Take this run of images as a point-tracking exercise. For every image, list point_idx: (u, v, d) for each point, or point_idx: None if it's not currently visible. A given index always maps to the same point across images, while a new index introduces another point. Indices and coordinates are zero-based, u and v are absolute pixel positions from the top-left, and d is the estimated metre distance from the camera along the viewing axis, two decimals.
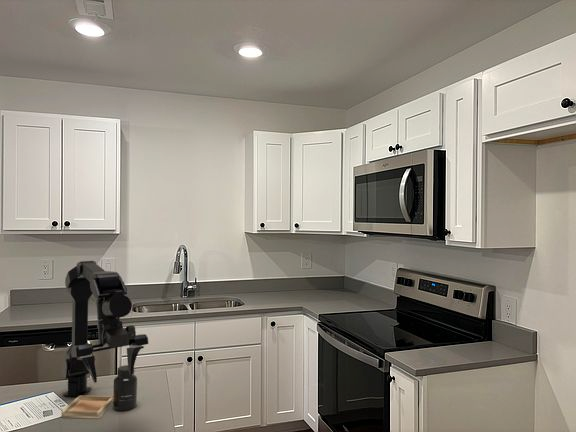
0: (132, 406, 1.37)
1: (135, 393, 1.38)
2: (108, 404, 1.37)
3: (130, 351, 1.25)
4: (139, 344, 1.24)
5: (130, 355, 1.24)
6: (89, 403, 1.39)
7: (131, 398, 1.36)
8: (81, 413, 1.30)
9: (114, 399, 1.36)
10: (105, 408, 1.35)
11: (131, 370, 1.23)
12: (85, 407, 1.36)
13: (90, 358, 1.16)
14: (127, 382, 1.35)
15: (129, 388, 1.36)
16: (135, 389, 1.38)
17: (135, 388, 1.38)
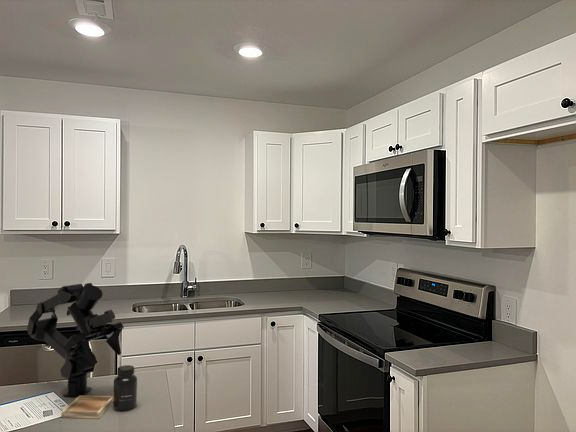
0: (132, 406, 1.37)
1: (135, 393, 1.38)
2: (108, 404, 1.37)
3: (111, 338, 1.47)
4: (118, 327, 1.48)
5: (113, 340, 1.47)
6: (89, 403, 1.39)
7: (131, 398, 1.36)
8: (81, 413, 1.30)
9: (114, 399, 1.36)
10: (105, 408, 1.35)
11: (119, 350, 1.45)
12: (85, 407, 1.36)
13: (86, 342, 1.36)
14: (127, 382, 1.35)
15: (129, 388, 1.36)
16: (135, 389, 1.38)
17: (135, 388, 1.38)
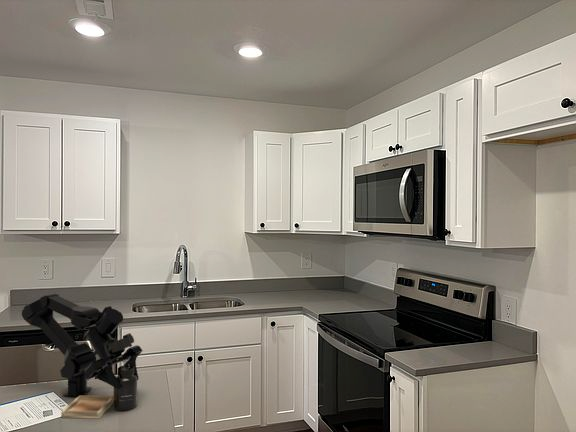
0: (132, 406, 1.37)
1: (135, 393, 1.38)
2: (108, 404, 1.37)
3: (128, 363, 1.43)
4: (136, 351, 1.45)
5: None
6: (89, 403, 1.39)
7: (131, 398, 1.36)
8: (81, 413, 1.30)
9: (114, 399, 1.36)
10: (105, 408, 1.35)
11: (137, 375, 1.41)
12: (85, 407, 1.36)
13: (109, 367, 1.34)
14: (127, 382, 1.35)
15: (129, 388, 1.36)
16: (135, 389, 1.38)
17: (135, 388, 1.38)
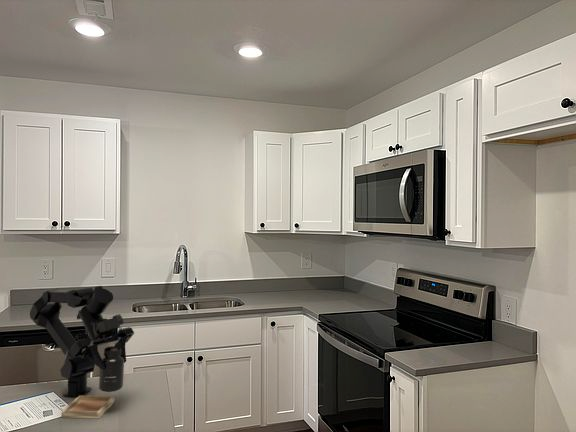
0: (117, 388, 1.35)
1: (121, 375, 1.36)
2: (108, 404, 1.37)
3: (117, 344, 1.41)
4: (127, 333, 1.43)
5: None
6: (89, 403, 1.39)
7: (116, 379, 1.34)
8: (81, 413, 1.30)
9: (99, 379, 1.35)
10: (105, 408, 1.35)
11: (124, 357, 1.39)
12: (85, 407, 1.36)
13: (94, 346, 1.33)
14: (111, 363, 1.34)
15: (114, 370, 1.34)
16: (121, 371, 1.36)
17: (121, 370, 1.36)
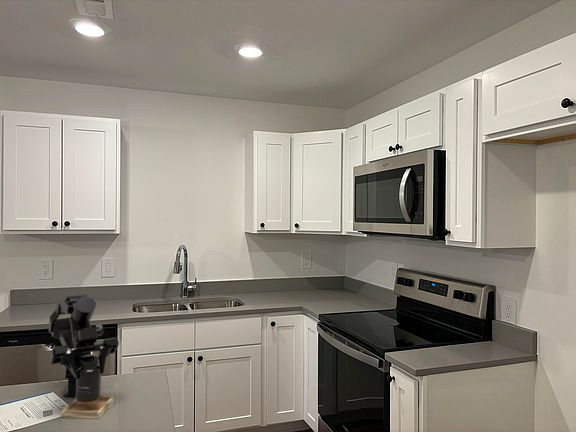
0: (90, 399, 1.33)
1: (94, 386, 1.34)
2: (108, 404, 1.37)
3: (100, 354, 1.40)
4: (110, 343, 1.41)
5: (100, 357, 1.40)
6: (89, 403, 1.39)
7: (88, 390, 1.33)
8: (81, 413, 1.30)
9: None
10: (105, 408, 1.35)
11: (102, 368, 1.37)
12: (85, 407, 1.36)
13: (69, 355, 1.34)
14: (84, 373, 1.33)
15: (86, 380, 1.33)
16: (95, 382, 1.34)
17: (94, 381, 1.34)
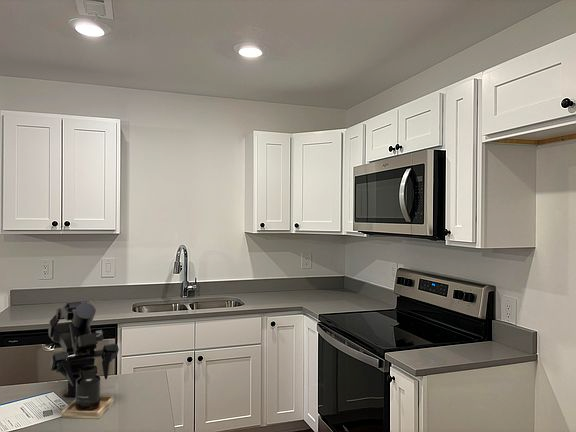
0: (89, 408, 1.33)
1: (94, 395, 1.34)
2: (108, 404, 1.37)
3: (103, 360, 1.41)
4: (110, 349, 1.41)
5: (104, 363, 1.40)
6: None
7: (88, 400, 1.33)
8: (81, 413, 1.30)
9: None
10: (105, 408, 1.35)
11: (106, 374, 1.38)
12: None
13: (65, 362, 1.33)
14: (83, 382, 1.33)
15: (85, 390, 1.33)
16: (94, 391, 1.34)
17: (94, 390, 1.34)
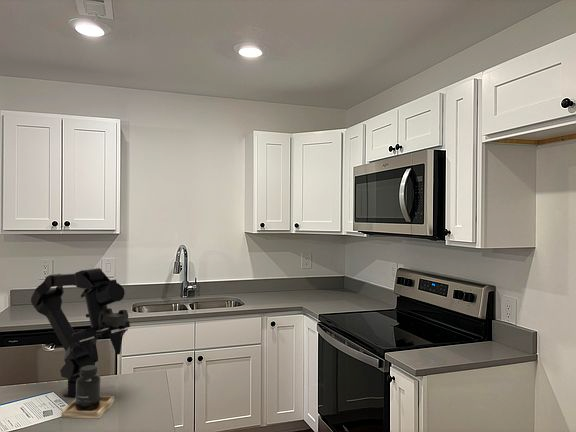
0: (89, 408, 1.33)
1: (94, 395, 1.34)
2: (108, 404, 1.37)
3: (115, 334, 1.45)
4: (125, 327, 1.46)
5: (116, 338, 1.45)
6: None
7: (88, 400, 1.33)
8: (81, 413, 1.30)
9: None
10: (105, 408, 1.35)
11: (119, 350, 1.44)
12: None
13: (94, 339, 1.34)
14: (83, 382, 1.33)
15: (85, 390, 1.33)
16: (94, 391, 1.34)
17: (94, 390, 1.34)
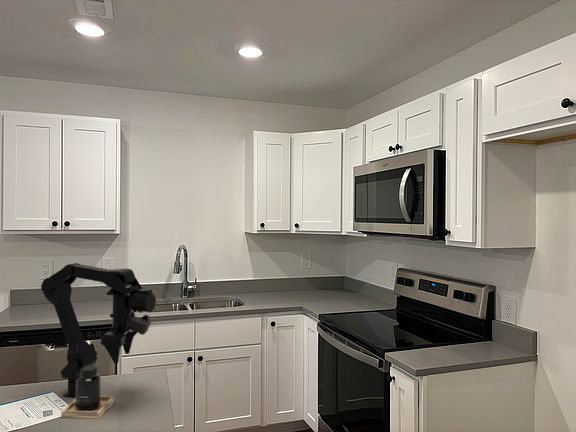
0: (89, 408, 1.33)
1: (94, 395, 1.34)
2: (108, 404, 1.37)
3: (127, 334, 1.48)
4: None
5: (128, 338, 1.48)
6: None
7: (88, 400, 1.33)
8: (81, 413, 1.30)
9: None
10: (105, 408, 1.35)
11: (129, 350, 1.48)
12: None
13: (123, 344, 1.37)
14: (83, 382, 1.33)
15: (85, 390, 1.33)
16: (94, 391, 1.34)
17: (94, 390, 1.34)
